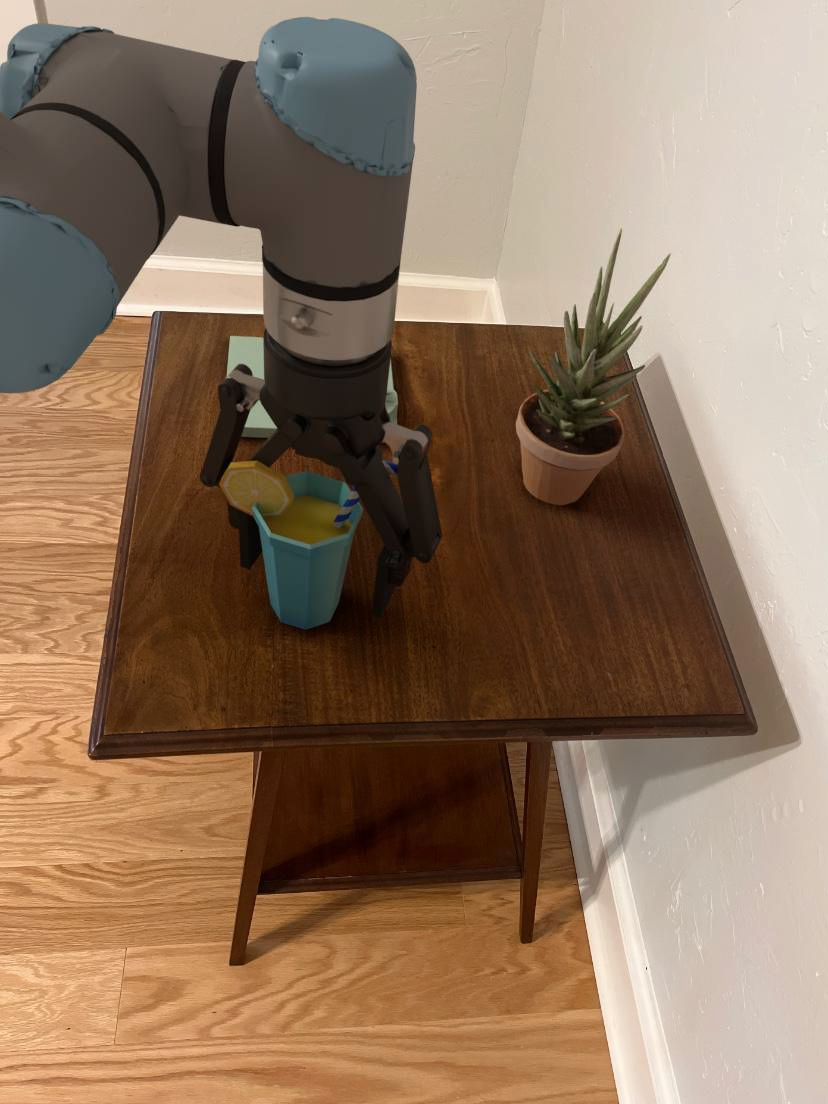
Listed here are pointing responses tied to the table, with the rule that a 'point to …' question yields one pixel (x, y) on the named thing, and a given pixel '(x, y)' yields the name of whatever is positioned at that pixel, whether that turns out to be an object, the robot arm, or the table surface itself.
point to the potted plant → (580, 399)
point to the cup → (299, 535)
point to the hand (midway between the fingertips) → (317, 580)
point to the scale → (253, 357)
